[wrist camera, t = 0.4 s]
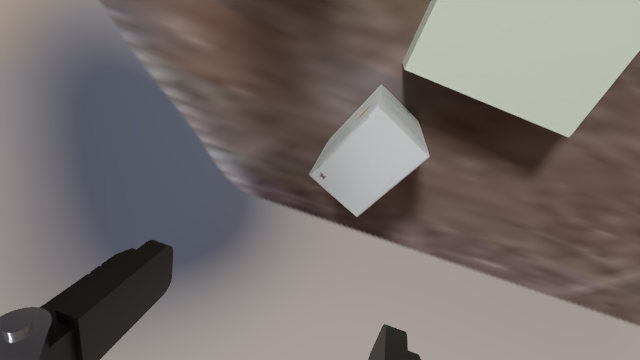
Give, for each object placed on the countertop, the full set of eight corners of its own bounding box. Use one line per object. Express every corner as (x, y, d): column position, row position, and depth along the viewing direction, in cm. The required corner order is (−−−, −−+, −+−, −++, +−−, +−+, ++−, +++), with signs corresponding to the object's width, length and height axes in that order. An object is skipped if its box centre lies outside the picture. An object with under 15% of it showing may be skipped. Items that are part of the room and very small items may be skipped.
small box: (365, 170, 35) (355, 220, 26) (329, 137, 35) (305, 176, 25) (420, 120, 32) (432, 158, 23) (382, 82, 31) (377, 104, 22)
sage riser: (487, -122, 24) (514, -166, 18) (662, -53, 23) (742, -77, 18) (402, 62, 30) (404, 69, 25) (537, 118, 30) (569, 137, 25)
